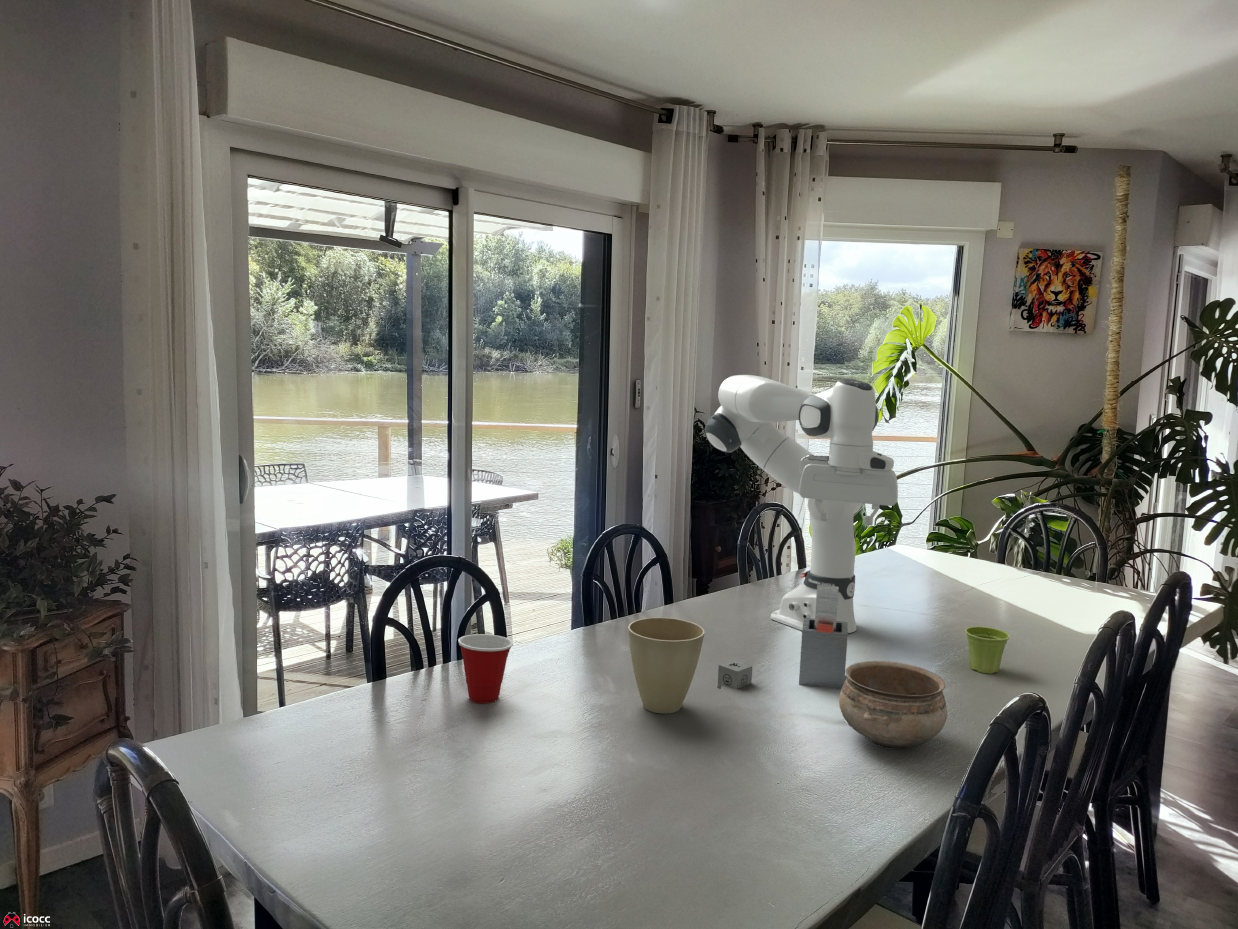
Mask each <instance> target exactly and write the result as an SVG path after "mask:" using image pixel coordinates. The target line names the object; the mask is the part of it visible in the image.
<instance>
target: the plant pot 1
mask: <svg viewBox="0 0 1238 929" xmlns="http://www.w3.org/2000/svg"><path fill="white" fill-rule="evenodd" d="M627 628H628V629H627V630H628V641H629V650H630V658H631V663H632V669H633V674H634V679H635V682H636V686H637V690H638V692H639V697H640V699H641V702H642V706H643V708H644V709H646V710H647V711H649V712H653V713H656V714H665V715H666V714H673V713H676V712H678V711H680V709H681V708H682V706H683V703H684V701H685V699H686V697H687V695H688V692H689V690H690V686H691V684H692V681H693V679H694V676H695V672H696V669H697V666H698V662H699V659H700V655H701V652H702V646H703V642H704V637H705V629H704V628H703V627H702V626H701V625H699V624H697V623H695V622H692V621H688V620H685V619H680V618H673V617H663V616H662V617H646V618H640V619H637V620H635V621H632V622H630V623H629V625H628V626H627Z"/></svg>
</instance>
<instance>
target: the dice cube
mask: <svg viewBox="0 0 1238 929" xmlns="http://www.w3.org/2000/svg"><path fill="white" fill-rule="evenodd" d="M717 671H718V673H717V688H718V689H722V686H723V685H725V686H726V687H727V686H728V687H730V688H733V689H736V690H737V689H740V688H743V687H746V686H748V685H751V684H752V678H753V665H750V664H747V663H745V662H741V661H738V660H736V659H732V660H729V661H726V662H724V663H720V664H718V670H717Z"/></svg>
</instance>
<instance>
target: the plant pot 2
mask: <svg viewBox="0 0 1238 929" xmlns="http://www.w3.org/2000/svg"><path fill="white" fill-rule="evenodd" d="M964 632H965V633H966V639H967V640H968V656H969V659H968V660H969V668H971V669H972V670H975V671H976V672H978V673H981V674H994V673H999V669H1000V666H1001V662H1002V658H1003V657H1002V656H1003V653H1004V652H1005V651H1004V650H1005V646H1006V645H1007V643H1008V640H1009V639H1010V638H1011V636H1010V634H1009V633H1007V632H1006V631H1003V630H1001V629H998V628H993V627H988V626H987V627H986V626H969V627H967V628H965V630H964Z"/></svg>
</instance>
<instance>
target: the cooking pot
mask: <svg viewBox="0 0 1238 929" xmlns="http://www.w3.org/2000/svg"><path fill="white" fill-rule="evenodd" d="M845 677H846V678H845V681H844V684H843V687H842V689H841V690H840V693H839V697H838V699H839V700H838V706H839V709H840V713H841V714H842V717H843V718H844V720H845V722H846V723H847V724H848V725H849V727H850V728H852V729H853V730H854V731H855V732H856V733H858V734H859V735H860V736H863V737H864V738H866V739H867V740H869V741H870V742H872V743H873V744H875V745H877V746H878V747H881V748H884V749H889V750H902V749H907V748H909V747H914V746H916V745H920V744H923V743H926V742H928V741H930V740H932V739H933V738H935V737H936V736H937V735H938V734H940V733H941V731H942V730H943V728H944V727H945V725H946V722H947V720H948V707H947V706H948V705H947V702H946V698H945V694H944V692H943V690H945V689H946V682H945V680H944V679H943V678H942V677H941V676H939V675H938V674H936V673H934V672H932V671H930V670H929V669H925V668H922V667H920V666H915V665H912V664H908V663H903V662H897V661H888V660H886V661H885V660H866V661H859V662H855V663H852V664H850V665H849V666H847V667H845Z"/></svg>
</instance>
